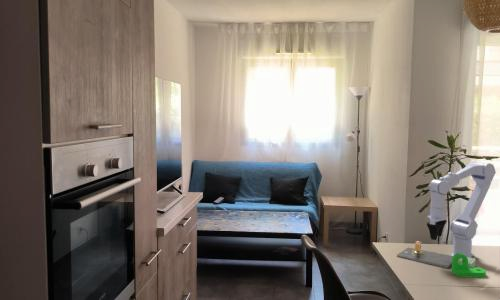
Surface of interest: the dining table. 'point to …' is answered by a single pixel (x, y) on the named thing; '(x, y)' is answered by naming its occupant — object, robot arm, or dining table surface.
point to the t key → (418, 246)
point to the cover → (469, 262)
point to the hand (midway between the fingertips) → (436, 237)
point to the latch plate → (427, 257)
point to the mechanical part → (465, 267)
